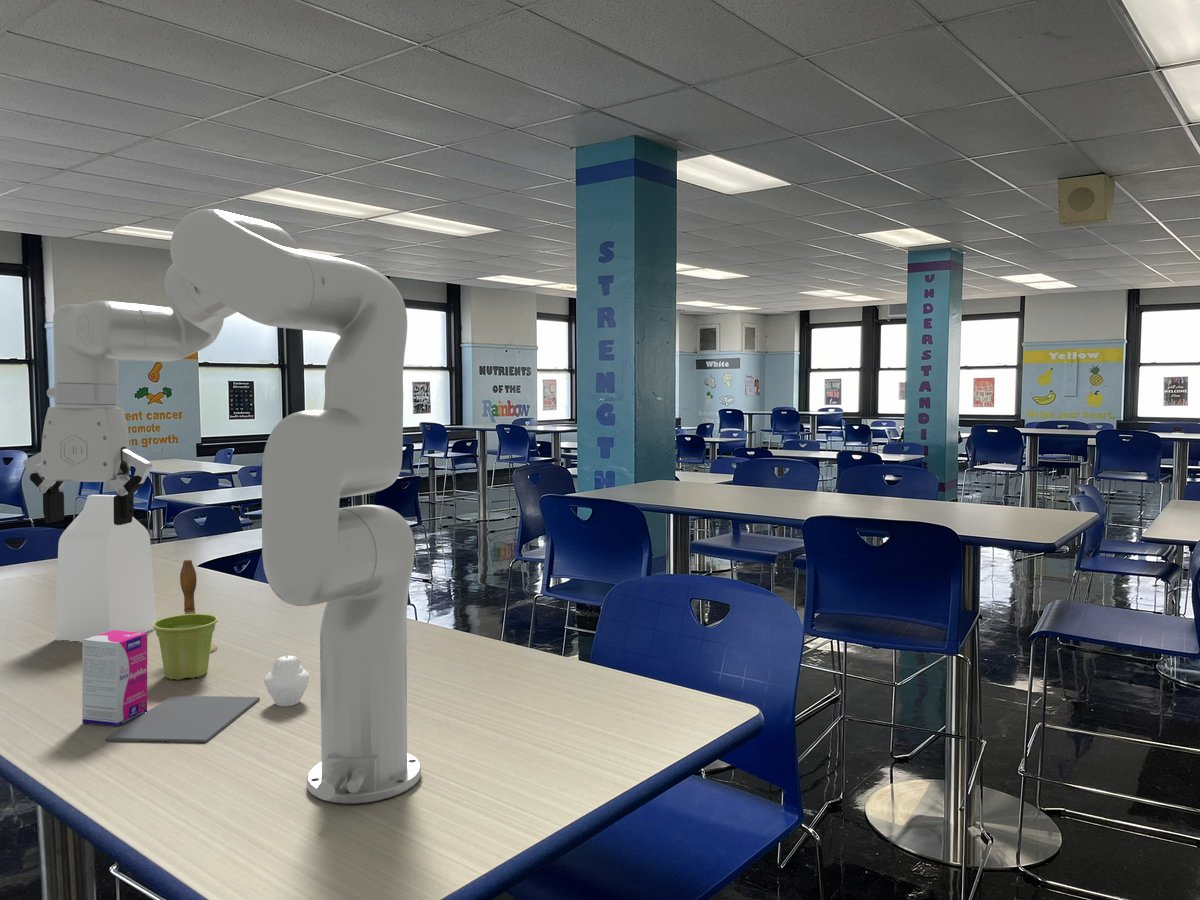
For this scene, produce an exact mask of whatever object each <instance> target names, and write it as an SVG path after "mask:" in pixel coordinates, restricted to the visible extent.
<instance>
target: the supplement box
mask: <svg viewBox="0 0 1200 900" xmlns="http://www.w3.org/2000/svg"><path fill="white" fill-rule="evenodd" d="M81 645H82V647H81V648H82V652H81V653H82V655H81V656H82V663H81V664H82V668H81V669H82V670H81V671H82V675H81V676H82V682H81V683H82V685H81V687H82V688H81V689H82V691H81V692H82V693H81V695H82V700H81V701H82V702H81V703H82V705H81V707H82V710H81V711H82V716H81V717H82V719H81V723H82V724H84V723H89V724H88V725H95V724H98V725H99V726H105V725H107V726H106V727H119V726H121V725H122V724H124V723H127V722H129V721H131V720H134V719H136V718H138V717H139V716H141V714H142V715H143V714H144V713H145V712H147V711H148V632H146V633H141V632H128V631H119V630H112V631H109V632H106V633H103V634H99V635H96V636H93V637H90V638H87V639H84V640H83V641H82V642H81Z"/></svg>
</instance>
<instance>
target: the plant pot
mask: <svg viewBox="0 0 1200 900" xmlns="http://www.w3.org/2000/svg"><path fill="white" fill-rule="evenodd" d="M218 622H219V617H218V616H216V615H213V614H208V613H195V614H185V613H184V614H178V615H171V616H167V617H163V618H160V619H158V620H157V621H155V622H154V623H153V628H154V629H155V634H156V636H157V637H158V641H159V647H160V648H159V649H160V653H161V658H162V664H163V665H162V666H163V671H164V676H165V678H166V679H168V678H169V679H168V680H173V679H176V680H175V681H181V679H182V680H184V679H186V678H189V679H196V678H195V677H197V678H199V677H202V676H204V675H207V673H208V671H209V662H210V655H211V653H210V648H211V641H212V642H213V633H214V631H215V628H216V623H218ZM177 679H178V680H177Z"/></svg>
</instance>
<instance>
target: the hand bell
mask: <svg viewBox="0 0 1200 900" xmlns="http://www.w3.org/2000/svg"><path fill="white" fill-rule="evenodd" d="M179 575H180V576H179V579H180V580H179V581H180V582H179V584H180V589H181V591H182V593H183V603H184V604H183V607H184V609H183V611H184V615H185V614H196V608H195V592H196V588H197V572H196V569H195V567H194V564H193V561H192V560H191V559H186V560H185V559H184V560H183V563H182V567H181V570H180V574H179ZM217 649H218V646H217V644H216V643H215V642H214V641H213V640H212V641H211V648H210V654H211V653H213V652H215V651H216V650H217Z"/></svg>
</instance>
